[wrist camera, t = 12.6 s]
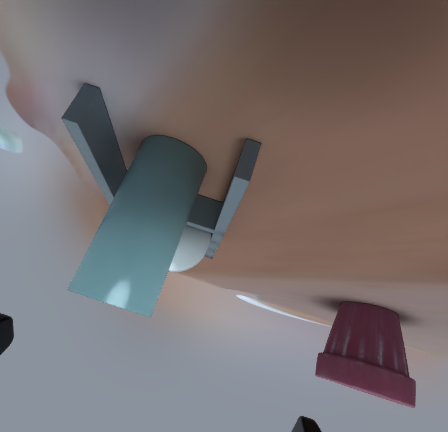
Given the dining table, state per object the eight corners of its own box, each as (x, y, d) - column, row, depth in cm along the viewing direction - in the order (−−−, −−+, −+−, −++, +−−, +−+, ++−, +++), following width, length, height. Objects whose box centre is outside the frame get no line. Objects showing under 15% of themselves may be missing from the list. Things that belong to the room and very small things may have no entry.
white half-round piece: (154, 191, 29) (125, 255, 27) (219, 213, 30) (197, 279, 27) (155, 197, 31) (128, 259, 28) (217, 218, 31) (196, 281, 28)
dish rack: (84, 83, 19) (61, 117, 17) (261, 143, 19) (249, 181, 18) (132, 208, 38) (122, 229, 37) (218, 237, 38) (212, 258, 37)
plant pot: (348, 292, 44) (338, 385, 39) (439, 319, 43) (440, 417, 38) (314, 302, 57) (302, 372, 52) (383, 323, 57) (378, 396, 52)
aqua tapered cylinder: (128, 134, 22) (47, 283, 18) (191, 136, 20) (118, 306, 16) (161, 175, 27) (104, 302, 22) (215, 181, 25) (164, 322, 20)
